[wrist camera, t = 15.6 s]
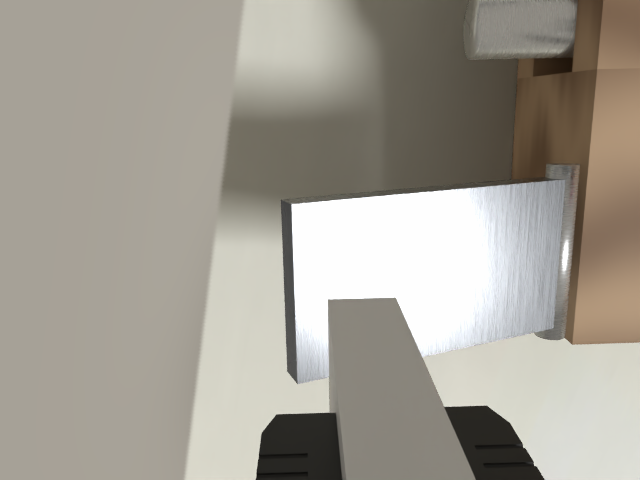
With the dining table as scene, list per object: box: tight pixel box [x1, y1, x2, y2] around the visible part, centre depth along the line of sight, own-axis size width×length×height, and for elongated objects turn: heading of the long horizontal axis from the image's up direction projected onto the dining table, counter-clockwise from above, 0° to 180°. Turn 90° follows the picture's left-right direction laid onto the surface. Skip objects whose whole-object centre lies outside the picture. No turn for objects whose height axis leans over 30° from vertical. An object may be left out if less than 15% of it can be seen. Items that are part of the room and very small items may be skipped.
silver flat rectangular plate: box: [281, 163, 580, 384], centre depth 21 cm, size 7×1×12 cm
